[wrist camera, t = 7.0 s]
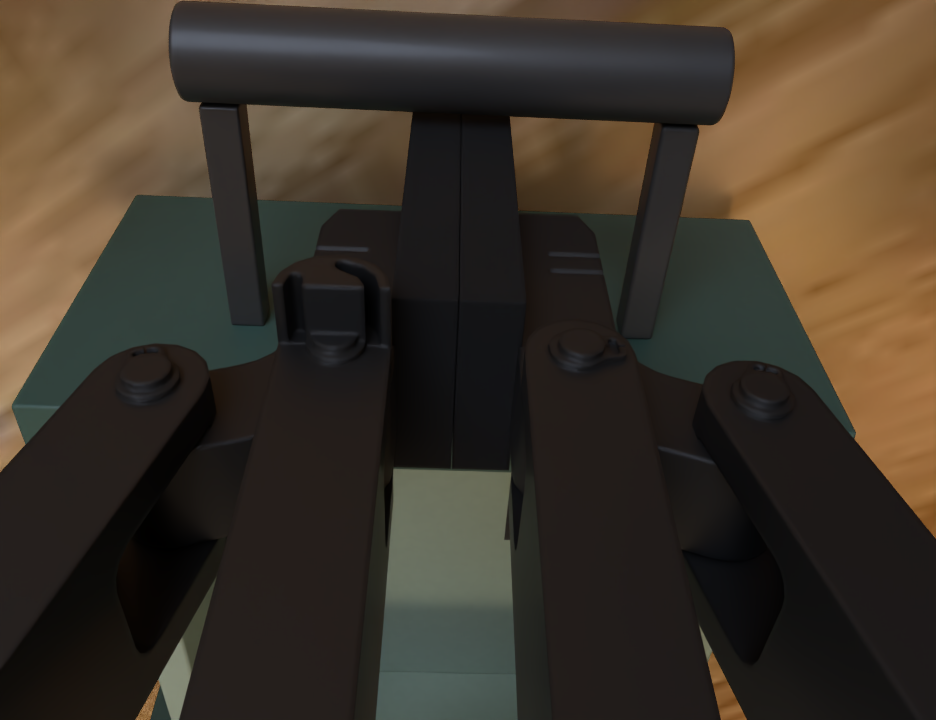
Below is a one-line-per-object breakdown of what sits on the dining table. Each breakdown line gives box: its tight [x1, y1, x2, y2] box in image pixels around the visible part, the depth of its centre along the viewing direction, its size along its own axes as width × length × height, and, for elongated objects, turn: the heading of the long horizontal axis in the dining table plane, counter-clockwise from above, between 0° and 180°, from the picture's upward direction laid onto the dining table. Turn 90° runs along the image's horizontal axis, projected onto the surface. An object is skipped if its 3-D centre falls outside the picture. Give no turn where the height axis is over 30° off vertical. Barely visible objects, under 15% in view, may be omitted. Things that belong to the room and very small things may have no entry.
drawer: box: [12, 1, 856, 720], centre depth 21 cm, size 23×14×7 cm, turn 177°
